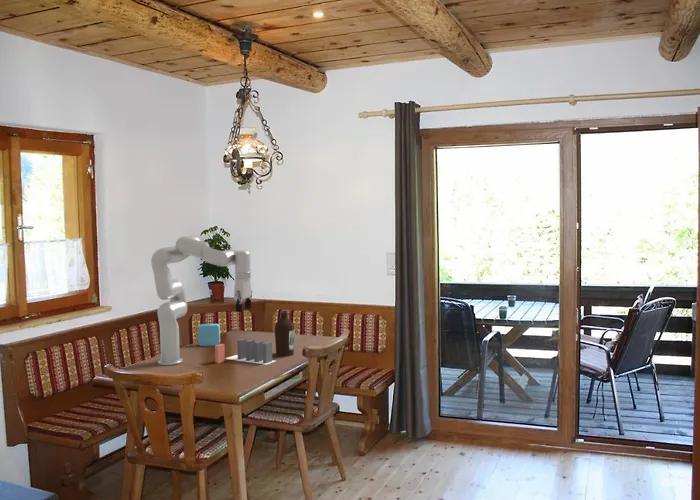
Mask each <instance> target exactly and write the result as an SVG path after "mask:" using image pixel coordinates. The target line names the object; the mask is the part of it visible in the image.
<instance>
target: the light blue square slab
mask: <svg viewBox="0 0 700 500" xmlns="http://www.w3.org/2000/svg"><path fill="white" fill-rule="evenodd" d="M197 336H198V337H197V339H198V340H197V341H198V345H199V346H200V347H210V346H212V347H215V346H216V345H219V344H221V325H220V324H219V323H202V324H199V325H198V327H197Z"/></svg>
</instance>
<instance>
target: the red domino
mask: <svg viewBox="0 0 700 500" xmlns="http://www.w3.org/2000/svg"><path fill="white" fill-rule="evenodd" d="M225 345H226V344H225V343H219V345H216V346H214V355H215V356H214V357H215V358H214V360H215V364H220V363H224V362H226V359H225V358H226V353H225V351H226V350H225V349H226V348H225Z"/></svg>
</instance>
